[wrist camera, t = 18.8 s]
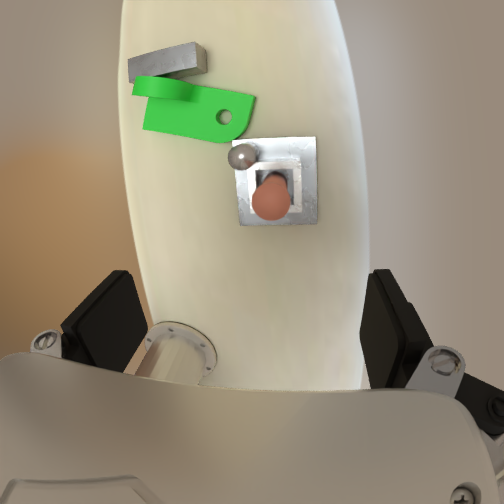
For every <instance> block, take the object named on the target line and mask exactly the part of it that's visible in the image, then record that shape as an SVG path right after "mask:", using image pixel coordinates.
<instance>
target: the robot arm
mask: <svg viewBox="0 0 504 504" xmlns="http://www.w3.org/2000/svg"><path fill="white" fill-rule="evenodd" d="M61 328H62V330H63V332H64V333H63V334H62V335H61V333H60V332H59V331H58V330H55V329H51V330H46V331H44V332H42V333H40V334H38V335H37V336H36V337H35V338H34V340H33V341H32V343H31V349H30V352H23V353H15V354H11V355H8V356H6V357H4V358H3V359H2V360H0V504H504V391H502V390H500V389H498V388H496V387H494V386H492V385H490V384H487V383H485V382H483V381H481V380H479V379H477V378H475V377H473V376H471V375H469V374H466V373H465V372H464V371H465V366H466V364H465V360H464V358H463V357H462V355H461V354H460V353H459V352H458V351H456V350H455V349H453V348H451V347H447V346H435V347H434V345H433V343H432V341H431V339H430V337H429V335H428V333H427V331H426V329H425V327H424V325H423V323H422V322H421V320H420V318H419V316H418V314H417V312H416V310H415V308H414V307H413V305H412V303H410V302H407V300H406V298H405V296H404V294H403V292H402V291H401V289H400V287H399V285H398V283H397V282H396V280H395V278H394V276H393V275H392V273H391V271H390V270H389V269H377V270H374V272H373V273H370V274H369V276H368V282H367V289H366V296H365V303H364V309H363V315H362V321H361V327H360V342H361V346H362V350H363V355H364V359H365V364H366V368H367V372H368V377H369V382H370V387H371V389H363V390H334V391H272V390H250V389H236V388H223V387H212V386H203V385H199V382H200V379H201V378H202V377H205V376H207V375H208V374H210V373H211V372H212V371H213V369H214V367H215V364H216V352H215V350H214V348H213V346H212V344H211V343H210V342H209V340H208V339H207V338H206V337H205V336H203V335H202V334H201V333H199V332H198V331H196V330H194V329H193V328H191V327H188V326H186V325H183V324H179V323H173V322H163V323H159V324H157V325H155V326H153V327H152V328H151V329H150V330H149V332H148V333H147V331H148V326H147V322H146V319H145V316H144V313H143V310H142V307H141V304H140V301H139V297H138V294H137V290H136V287H135V284H134V280H133V277H132V275H131V274H129V272H128V271H126V270H115V271H113V272H112V273H111V274H110V275H109V276H108V277H107V278H106V279H104V280H103V281H102V283H100V284H99V285H98V286H97V287H96V288H95V289H94V290H93V291H92V293H90V294H89V295H88V296H87V297H86V299H84V301H83V302H82V303H81V304H80V305H79V306H78V307H77V308H76V309H75V310H74V311H73V312H72V313H71V314H70V315H69V316H68V317H67V318H66V319H65V320H64V321H63V323H62V324H61ZM146 334H147V335H146ZM145 335H146V337H145ZM144 337H145V348H146V351H147V353H146V355H145V357H144V359H143V360H142V362H141V364H140V366H139V367H138V369H137V371H136V373H135V375H130V374H125V373H123V372H124V370H125V368H126V367H127V365H128V363H129V362H130V360H131V358H132V356H133V355H134V353H135V352H136V350H137V348H138V346H139V345H140V343H141V342H142V340H143V339H144Z"/></svg>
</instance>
